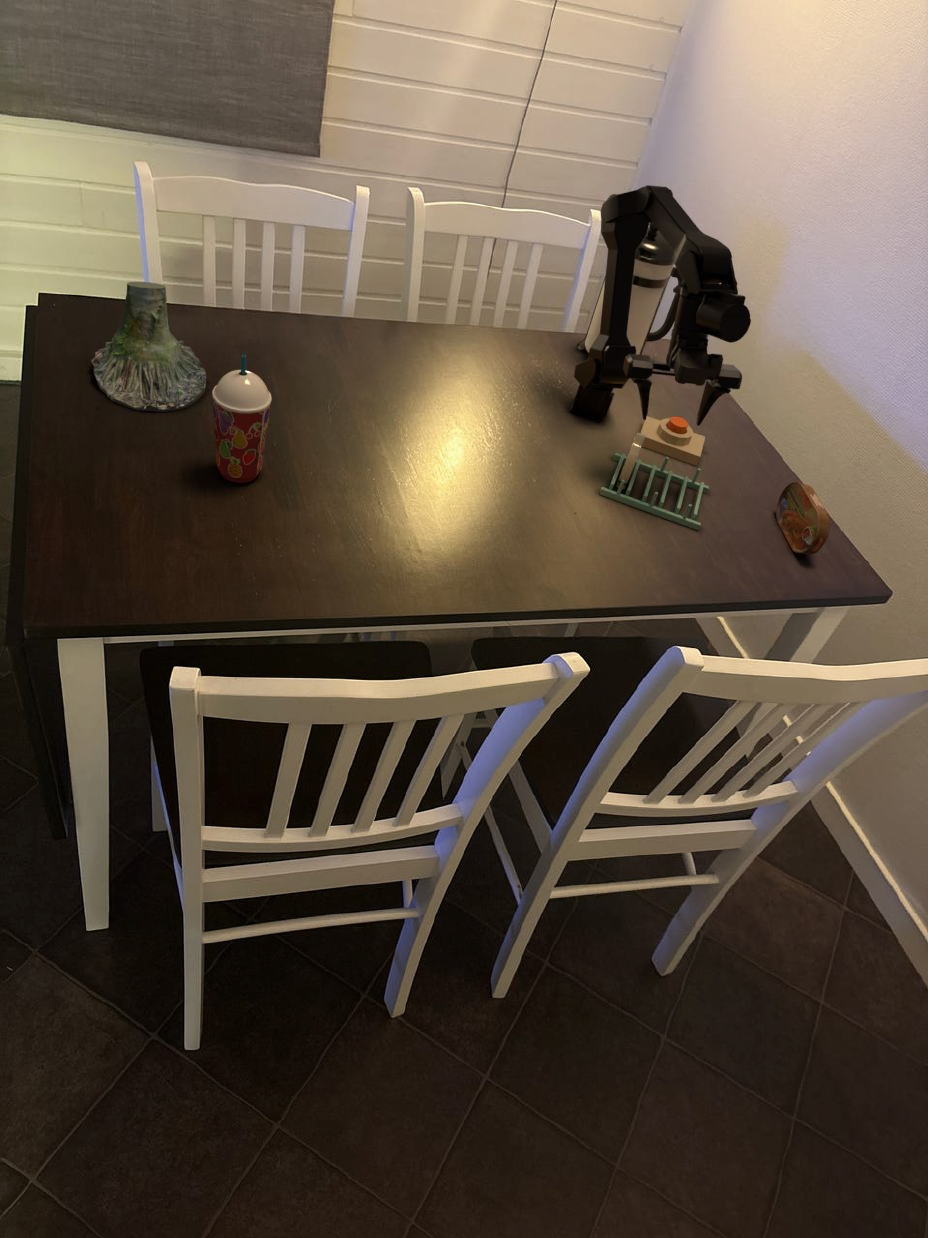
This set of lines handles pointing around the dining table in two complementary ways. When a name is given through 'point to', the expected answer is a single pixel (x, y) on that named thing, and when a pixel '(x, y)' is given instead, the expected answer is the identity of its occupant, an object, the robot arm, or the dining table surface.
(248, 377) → the smoothie
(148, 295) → the tree stump
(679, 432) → the button
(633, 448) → the plate
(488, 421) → the dining table surface
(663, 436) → the panel
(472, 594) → the dining table surface
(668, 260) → the coffee press
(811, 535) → the tin
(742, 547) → the dining table surface
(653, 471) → the rack
